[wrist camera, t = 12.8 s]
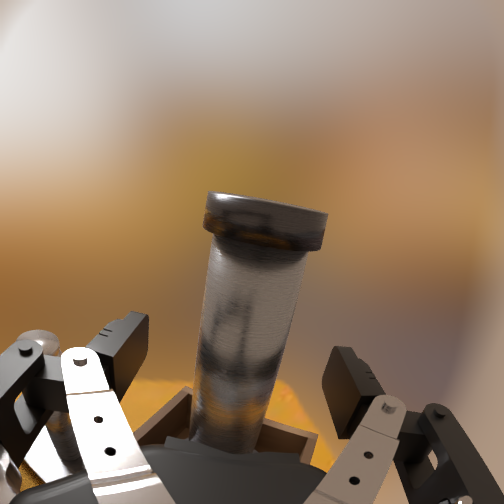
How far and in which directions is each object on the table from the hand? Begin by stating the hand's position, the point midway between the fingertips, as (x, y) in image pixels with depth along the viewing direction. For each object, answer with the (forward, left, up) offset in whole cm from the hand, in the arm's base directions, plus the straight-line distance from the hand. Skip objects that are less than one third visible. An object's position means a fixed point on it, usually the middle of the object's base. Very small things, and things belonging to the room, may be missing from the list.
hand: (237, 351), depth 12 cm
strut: (0, 0, -12) cm, 12 cm away
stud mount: (-9, -4, -13) cm, 17 cm away
